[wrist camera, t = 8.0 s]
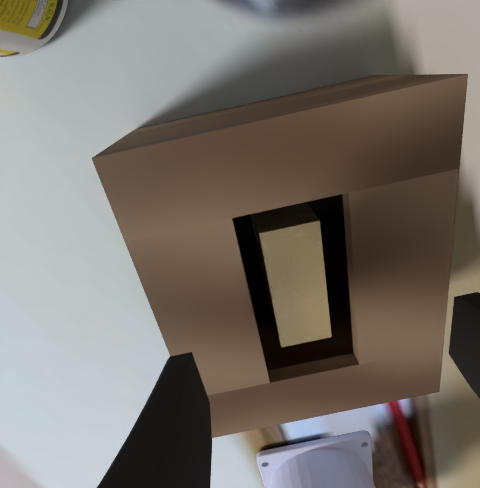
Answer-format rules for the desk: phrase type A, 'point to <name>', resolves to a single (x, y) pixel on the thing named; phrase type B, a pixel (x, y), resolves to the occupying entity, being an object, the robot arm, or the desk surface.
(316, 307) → the block
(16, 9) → the supplement bottle
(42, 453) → the desk surface
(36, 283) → the desk surface
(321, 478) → the robot arm
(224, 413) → the walnut coin box
